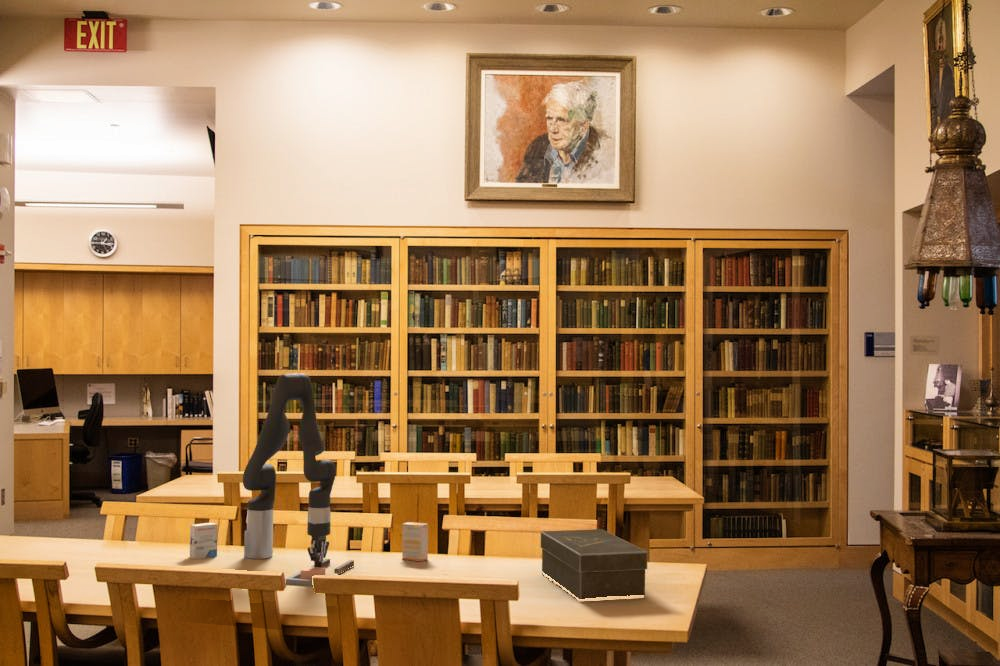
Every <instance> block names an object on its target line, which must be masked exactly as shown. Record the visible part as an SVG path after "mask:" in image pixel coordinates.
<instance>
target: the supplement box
mask: <svg viewBox="0 0 1000 666" xmlns="http://www.w3.org/2000/svg"><path fill="white" fill-rule="evenodd" d="M428 531H429V523H427V522H426V523H424V522H414V521H407V522H403V523H402V550H401V551H402V557H401V558H402V560H406V561H415V562H425V561H426V560H428V557H429V554H428V551H429V550H428V546H429V545H428V544H429V542H428V539H429V538H428V537H429V535H428V534H429V533H428Z"/></svg>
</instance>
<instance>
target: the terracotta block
mask: <svg viewBox="0 0 1000 666" xmlns="http://www.w3.org/2000/svg"><path fill="white" fill-rule="evenodd" d="M300 571H301V578H300V579H307V580H312V576H314V575H325V576H326V567H325V568H321V567H311V566H306V567H305V568H303V569H301V570H300Z"/></svg>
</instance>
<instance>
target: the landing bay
mask: <svg viewBox="0 0 1000 666" xmlns="http://www.w3.org/2000/svg"><path fill="white" fill-rule="evenodd" d="M332 574H338V573H334V572H332ZM285 579H286V583H287V584H286V585H295V586H296V585H298V586H310V587H311V586H312V580H307V579H301V570H300V571H298V572H296V573H294V574H292V575H290V576H288V577H286V578H285ZM312 587H313V586H312Z"/></svg>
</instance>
